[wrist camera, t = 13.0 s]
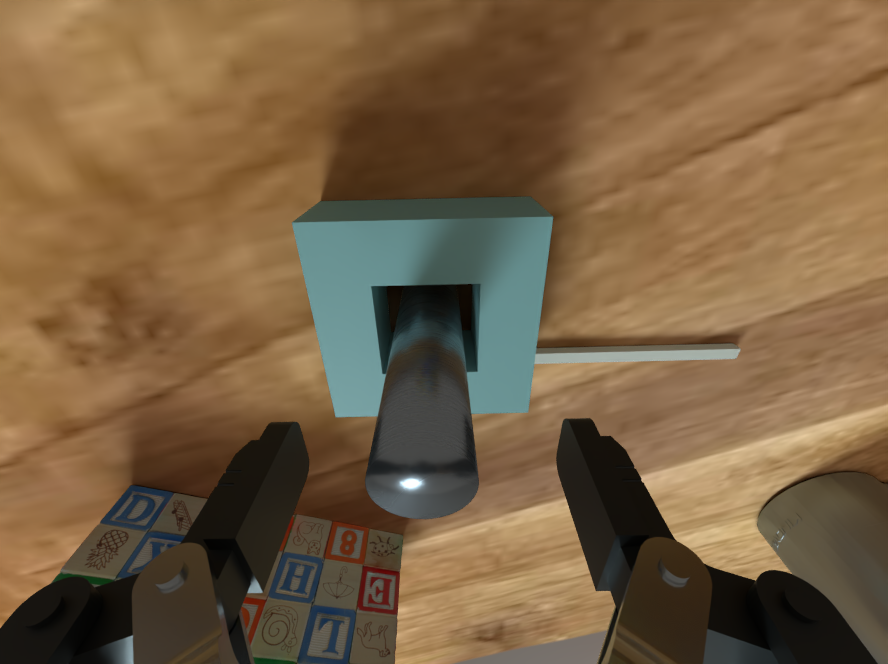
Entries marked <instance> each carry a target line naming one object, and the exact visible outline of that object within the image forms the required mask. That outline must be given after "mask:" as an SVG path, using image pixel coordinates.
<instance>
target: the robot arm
mask: <svg viewBox="0 0 888 664" xmlns="http://www.w3.org/2000/svg"><path fill="white" fill-rule="evenodd" d="M556 461H557V470H558V474H559V478H560V481H561V484H562V487H563V490H564V493H565V496H566V499H567V503H568V506H569V509H570V512H571V515H572V518H573V521H574V524H575V527H576V530H577V533H578V537H579V540H580V543H581V546H582V549H583V552H584V555H585V558H586V561H587V564H588V568H589V571H590V574H591V577H592V580H593V583H594V586H595V589H596V591H611V594H612V597H613V600H614V603H615V608H614V610H613V614H612V617H611V620H610V623H609V626H608V629H607V633H606V636H605V639H604V642H603V645H602V649H601V652H600V655H599V658H598V662H597V664H888V484H884V483H881V482H879V481H878V480H877V479H876V478H875V477H873V476H870V475H867V474H864V473H857V472H841V473H834V474H828V475H824V476H820V477H816V478H813V479H810V480H807V481H805V482H802V483H800V484H798V485H795V486H793V487H791V488H789V489H787V490H786V491H784V492H783V493H781V494H780V495H778V496H776V497H775V498H774V499H773V500H772V501H771V502H769V503H768V504H767V505H766V507H765V508H764V509H763V510H762V511H761V513H760V515H759V517H758V522H757V526H758V530H759V531H760V533H761V534H762V535H763V537H764V538H765V539H766V541H767V542H768V543H769V544H770V546H771V547H772V548H773V550H774V551H775V552H776V554H777V555H778V556H779V557H780V559H781V560H782V561H783V563H784V564H785V565H786V567H787V568H788V569H789V570H790V572H791V573H792V574H793V575H792V574H790V573H787V572H783V571H777V570H769V571H765V572H763V573H762V574H761V575H760V576H759V577H758V578H757V580H756V581H755V580H752V579H748V578H745V577H742V576H738V575H735V574H732V573H728V572H725V571H722V570H718V569H715V568H713V567H710V566H708V565H706V564H704V563H703V562H702V561H701V559H700V558H699V557H698V556H697V555H696V554H695V553H694V552H693V551H691V550H690V549H689V548H687V547H686V546H684V545H683V544H681V543H679V542H677V541H676V540H675V539H674V537H673V535H672V534H671V532H670V530H669V528H668V527H667V525H666V523H665V521H664V519H663V518H662V516H661V514H660V512H659V510H658V508H657V507H656V505H655V503H654V501H653V499H652V497H651V496H650V494H649V492H648V490H647V488H646V487H645V485H644V483H643V482H642V481H641V477H640V476H639V474H638V472H637V470H636V469H634V465H633V463H632V461H631V459H630V457H629V456H628V454H627V452H626V450H625V449H624V448H623V447H622V446H621V445H620V444H619V443H618V442H616V441H615V440H614V439H613V438H612V437H611V436H600V434H599V432H598V430H597V428H596V426H595V424H594V422H593V420H592V419H590V418H580V419H564V420H563V424H562V429H561V434H560V439H559V444H558V450H557V457H556ZM308 471H309V456H308V453H307V449H306V446H305V442H304V439H303V435H302V432H301V428H300V425H299V424H298V422H271V423H269V424H268V426H267V427H266V429H265V431H264V432H263V434H262V436H261V438H260V439H259V440H251V441H250V442H249V443H248V444H247V445H245V446H244V447H243V448H242V449H241V450H240V451H239V452H238V453H236V455H235V456H234V458H233V459H232V461H231V463H230V464H229V466H228V467H227V469H226V473H224V474H223V476H222V477H221V479H220V480H219V482H218V486H217V487H215V489H214V490H213V492H212V493H211V495H210V497H209V498H208V500H207V501H206V503H205V505H204V506H203V508H202V510H201V511H200V513H199V514H198V516H197V518H196V519H195V521H194V522H193V524H192V526H191V527H190V529H189V531H188V532H187V534H186V535H185V537H184V539H183V540H182V541H181V543H180V544H179V545H176V546H173V547H171V548H169V549H167V550H166V551H164V552H162V553H161V554H159V555H158V556H157V557H155V558H154V559H153V560H152V561H151V562H150V563H149V564H148V565H147V566H146V567H145V568H144V569H143V570H142V572H140V573H138V574H135V575H132V576H129V577H125V578H122V579H119V580H116V581H113V582H110V583H107V584H103V585H100V586H97V587H94V586H93V585H92V584H91V583H90V582H89V581H88V580H87V579H85V578H83V577H78V576H74V577H67V578H64V579H61V580H58V581H56V582H53V583H51V584H49V585H48V586H46V587H44V588H42V589H41V590H39V591H38V592H36V593H35V594H33V595H32V596H31V597H29V598H28V599H27V600H26V601H25V602H23V603H22V604H21V605H20V606H19V607H18V608H17V609H16V610H15V611H14V613H13V614H12V615H11V616H10V617H9V618H8V620H7V621H6V622H5V623H4V624H3V626H2V627H1V628H0V664H255V663H254V659H253V655H252V651H251V647H250V643H249V638H248V634H247V630H246V626H245V622H244V618H243V614H242V611H241V607H242V604H243V602H244V600H245V597H246V595H247V593H263V592H264V589H265V587H266V584H267V581H268V579H269V576H270V574H271V571H272V568H273V566H274V563H275V560H276V558H277V555H278V552H279V550H280V547H281V545H282V542H283V539H284V537H285V534H286V531H287V529H288V526H289V523H290V521H291V518H292V516H293V513H294V510H295V508H296V505H297V502H298V500H299V497H300V494H301V492H302V489H303V487H304V484H305V481H306V479H307V475H308Z"/></svg>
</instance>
